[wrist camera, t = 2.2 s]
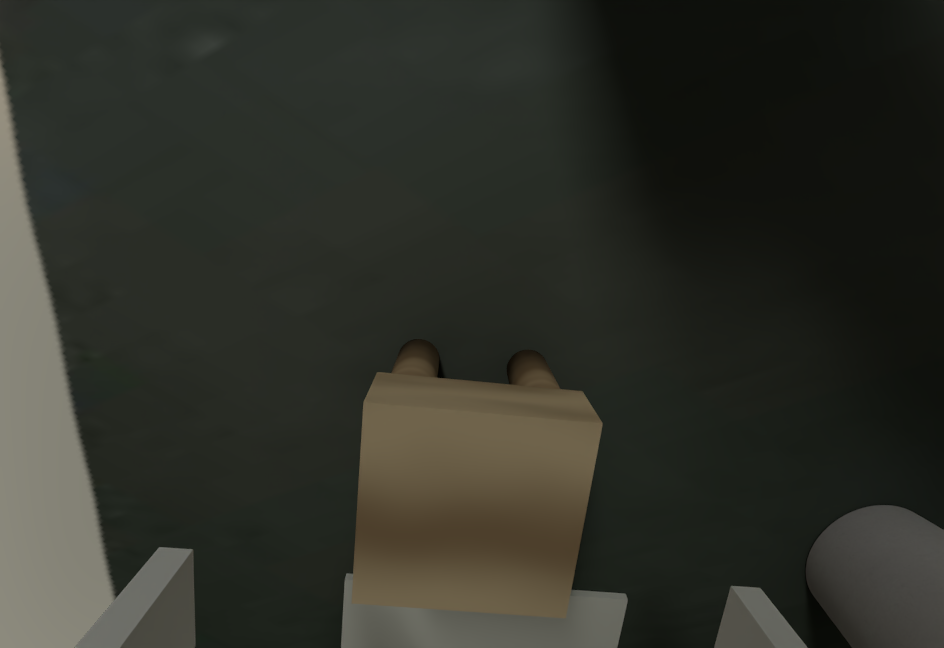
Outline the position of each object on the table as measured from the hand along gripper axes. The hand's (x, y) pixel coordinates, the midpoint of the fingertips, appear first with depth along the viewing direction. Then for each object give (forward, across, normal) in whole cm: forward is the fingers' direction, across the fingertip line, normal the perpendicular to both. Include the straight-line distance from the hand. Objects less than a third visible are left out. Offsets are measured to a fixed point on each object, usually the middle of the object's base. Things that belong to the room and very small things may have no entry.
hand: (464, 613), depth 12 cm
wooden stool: (+11, 0, 0) cm, 11 cm away
